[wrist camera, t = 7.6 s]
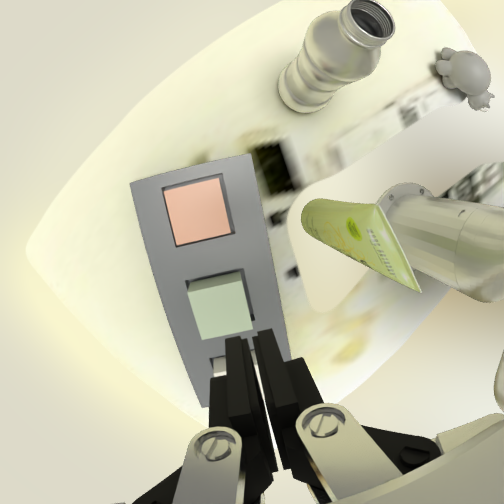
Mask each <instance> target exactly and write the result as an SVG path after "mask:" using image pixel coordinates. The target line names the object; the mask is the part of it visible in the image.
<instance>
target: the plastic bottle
mask: <svg viewBox="0 0 504 504" xmlns="http://www.w3.org/2000/svg"><path fill="white" fill-rule="evenodd" d="M394 32H395V23H394V20H393V18H392V16H391V14H390V13H389V12H388V10H387V9H386V8H385V7H384V6H382V5H381V4H380V3H378V2H376V1H374V0H352V1H351V2H350V3H349V4H348V5H347V6H345V7H344V8H343V9H342V10H341V11H329V12H327V13H324V14H322V15H320V16H318V17H317V18H315V19H314V20H313V21H312V22H311V24H310V26H309V28H308V30H307V32H306V35H305V39H304V43H303V46H302V49H301V51H300V53H299V55H298V56H297V58H296V59H295V60H294V61H292V62H291V63H290V64H288V65H287V66H286V67H285V68H284V69H283V71H282V72H281V74H280V77H279V83H278V89H279V94H280V96H281V98H282V100H283V101H284V103H285V104H286V105H287V106H288V107H290V108H291V109H293V110H295V111H297V112H301V113H311V112H315V111H318V110H320V109H322V108H324V107H325V106H326V105H327V104H328V102H329V101H330V99H331V98H332V96H333V94H334V93H335V92H336V91H337V90H338V89H340V88H341V87H343V86H345V85H347V84H350V83H352V82H355V81H358V80H361V79H363V78H364V77H366V76H368V75H370V74H371V73H372V72H373V71H374V70H375V68H376V66H377V64H378V62H379V59H380V56H381V46H382V45H384V44H385V42H386V41H387V40H388V39H390V38H391V37H392V36H393V34H394Z"/></svg>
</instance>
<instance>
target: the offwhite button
mask: <svg viewBox="0 0 504 504" xmlns="http://www.w3.org/2000/svg"><path fill="white" fill-rule="evenodd" d="M251 355H252V359H253V363H254V366H255V370H256V374H257V378H258V382H259V385H260V389H261V393H262V397H263V400H265V397H264V393H263V388H262V383H261V379H260V374H259V369H258V364H257V359H256V355H255V350H252V351H251ZM213 374H214V377H217V376H223V375H226V356H224V357H219V358H214V367H213Z"/></svg>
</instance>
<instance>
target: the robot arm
mask: <svg viewBox="0 0 504 504" xmlns="http://www.w3.org/2000/svg"><path fill="white" fill-rule="evenodd" d="M388 196H389V198H388ZM376 204H377V205H380V207H381V209H382V211H383V212H384V214H385V216H386V218H387V220H388V222H389V224H390V226H391V228H392V230H393V232H394V234H395V236H396V238H397V240H398V242H399V244H400V246H401V247H402V249H403V252H404V254H405V256H406V258H407V260H408V262H409V264H410V267H411V269H412V271H413V270H416V269H417V270H419V271H421V272H423V273H425V274H427V275H429V276H431V277H433V278H435V279H437V280H439V281H441V282H442V283H444V284H446V285H448V286H450V287H452V288H454V289H456V290H458V291H460V292H461V293H463V294H466V295H467V296H469V297H471V298H473V299H475V300H477V301H480V302H486V303H487V302H489V303H491V302H496V301H499V300H502V299H504V208H503V207H497V206H492V205H486V204H480V203H474V202H467V201H461V200H454V199H447V198H439V197H434V196H433V195H432V194H431V193H430V192H429V191H428V190H427V189H426V188H425V187H423V186H421V185H419V184H415V183H401V184H397V185H395V186H392V187H391V188H390V189H388V190H387V191H386V192H385V193H384V194H383V195H382V196H381V197H380V199H379V200H378V202H377V203H376ZM257 334H258V336H254V337H252V340H253V345H254V350H255V355H256V359H257V364H258V369H259V374H260V379H261V383H262V388H263V393H264V397H265V402H266V406H267V411H268V415H269V418H270V422H271V426H272V429H273V433H274V437H275V440H276V444H277V447H278V451H279V454H280V458H281V462H282V465H283V469H284V470H286V469H291V471H292V475H293V478H294V479H296V480H299V481H301V482H304V483H307V487H308V489H309V491H310V493H311V495H312V497H313V498H314V500H315V502H316V504H504V415H503V414H499V413H494V414H490V415H487V416H485V417H482V418H480V419H477V420H475V421H473V422H470V423H467V424H465V425H462V426H459V427H457V428H454V429H451V430H448V431H445V432H442V433H439V434H437V436H436V438H434V439H428V438H425V437H420V436H414V435H408V434H402V433H397V432H391V431H386V430H381V429H377V428H372V427H367V426H363V425H360V424H359V423H358V422H357V421H356V419H355V418H354V417H353V416H352V415H351V413H350V412H349V411H348V410H347V409H346V408H344V407H343V406H340V405H338V404H333V403H324V402H323V400H322V397H321V395H320V393H319V391H318V389H317V387H316V384H315V382H314V380H313V378H312V376H311V374H310V371H309V369H308V367H307V365H306V363H305V361H304V359H303V358H302V357H301V358H297V359H294V360H290V361H286V362H284V361H283V358H282V355H281V352H280V349H279V347H278V344H277V341H276V338H275V335H274V332H273V329H272V328H270V329H266V330H262V331H258V332H257ZM225 354H226V375H223V376H217V377H212V378H210V396H209V428H208V429H206V430H203V431H201V432H200V433H198V434H197V435H195V436H194V437H193V438H192V440H191V441H190V443H189V445H188V448H187V452H186V456H185V459H184V463H183V466H181V467H180V468H179V469H177V470H176V471H175V472H174V473H172V474H171V475H170V476H168V477H167V478H166V479H164V480H163V481H162V482H160V483H159V484H157V485H156V486H155V487H153V488H152V489H151V490H149V491H148V492H146V493H145V494H143V495H142V496H141V497H139V498H138V499H136V500H135V501H134V502H133V503H132V504H265V497H264V491H265V490H266V489H267V488H268V487H269V486H270V485H271V483H272V481H274V480H273V475H272V473H273V472H277V471H278V467H277V462H276V457H275V453H274V448H273V443H272V439H271V434H270V429H269V425H268V420H267V415H266V410H265V406H264V401H263V397H262V393H261V389H260V385H259V382H258V378H257V374H256V370H255V366H254V363H253V359H252V355H251V351H250V347H249V343H248V339H247V338H245V339H241V336H235V337H231V338H226V339H225ZM494 396H495V399H496V402H497V404H498V406H499V407H500V409H501V410H502V411H503V412H504V351H503V354H502V357H501V360H500V363H499V366H498V369H497V372H496V376H495V381H494ZM116 504H125V503H116Z"/></svg>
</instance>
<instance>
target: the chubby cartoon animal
mask: <svg viewBox="0 0 504 504" xmlns="http://www.w3.org/2000/svg"><path fill="white" fill-rule="evenodd" d="M441 56H442V59H443V60H438V61H436V70H437V72H438V73H439V74H440V75H443V84H444V86H445V87H446V88H449V89H454V88H458V89H460V90H461V91H462V92H464V93H466V94H467V97H468V103H469V105H470V107H471V108H472V109H474V110H480V111H483V112H486V111H488V110H486V109H484V107H487V108H490V106H489V104H488V103H489V101H490V98H491V97H492V98H494V95H493V94H491V93H489V92H488V91H487V89H488V87H489V85H490V81H491V74H490V70H489V68H488V66H487V64H486V63H485V61H484V60H483V59H482V58H481V57H480V56H479V55H477V54H475V53H473V52H470V51H459V52H456V51H455V50H453V49H450V48H443V49H442V51H441Z"/></svg>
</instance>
